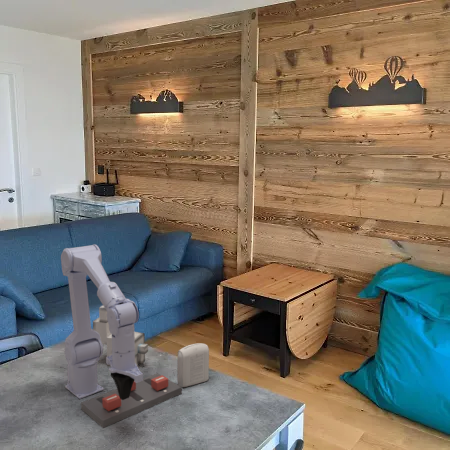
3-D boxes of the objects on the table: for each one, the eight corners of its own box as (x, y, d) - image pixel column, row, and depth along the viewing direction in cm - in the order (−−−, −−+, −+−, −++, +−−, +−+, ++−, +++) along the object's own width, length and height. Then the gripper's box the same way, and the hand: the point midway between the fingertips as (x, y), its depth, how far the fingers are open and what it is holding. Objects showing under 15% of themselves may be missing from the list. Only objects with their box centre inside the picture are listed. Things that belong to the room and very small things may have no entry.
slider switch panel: (81, 409, 135) (81, 402, 134) (157, 378, 152) (157, 372, 152) (103, 427, 126) (103, 420, 126) (181, 393, 144) (181, 386, 143)
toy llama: (141, 371, 157) (140, 313, 154) (94, 363, 162) (92, 306, 159) (151, 362, 164) (150, 305, 161) (106, 354, 169) (104, 299, 166)
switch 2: (118, 389, 141) (118, 381, 140) (130, 385, 143) (130, 377, 143) (124, 393, 139) (123, 385, 138) (135, 389, 141) (135, 381, 141)
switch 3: (151, 387, 143) (151, 379, 142) (162, 382, 145) (162, 374, 145) (157, 390, 140) (157, 382, 140) (168, 386, 143) (168, 378, 143)
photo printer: (203, 375, 155) (204, 338, 153) (210, 380, 152) (211, 343, 150) (175, 383, 150) (175, 346, 148) (181, 389, 146) (181, 351, 144)
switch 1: (102, 406, 132) (102, 398, 131) (115, 401, 134) (115, 393, 134) (108, 411, 130) (108, 402, 129) (121, 405, 132) (121, 397, 132)
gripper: (95, 344, 127) (96, 392, 129) (125, 362, 116) (126, 414, 119) (118, 337, 131) (119, 383, 134) (149, 354, 121) (150, 404, 123)
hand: (124, 397), depth 126 cm, fingers closed
